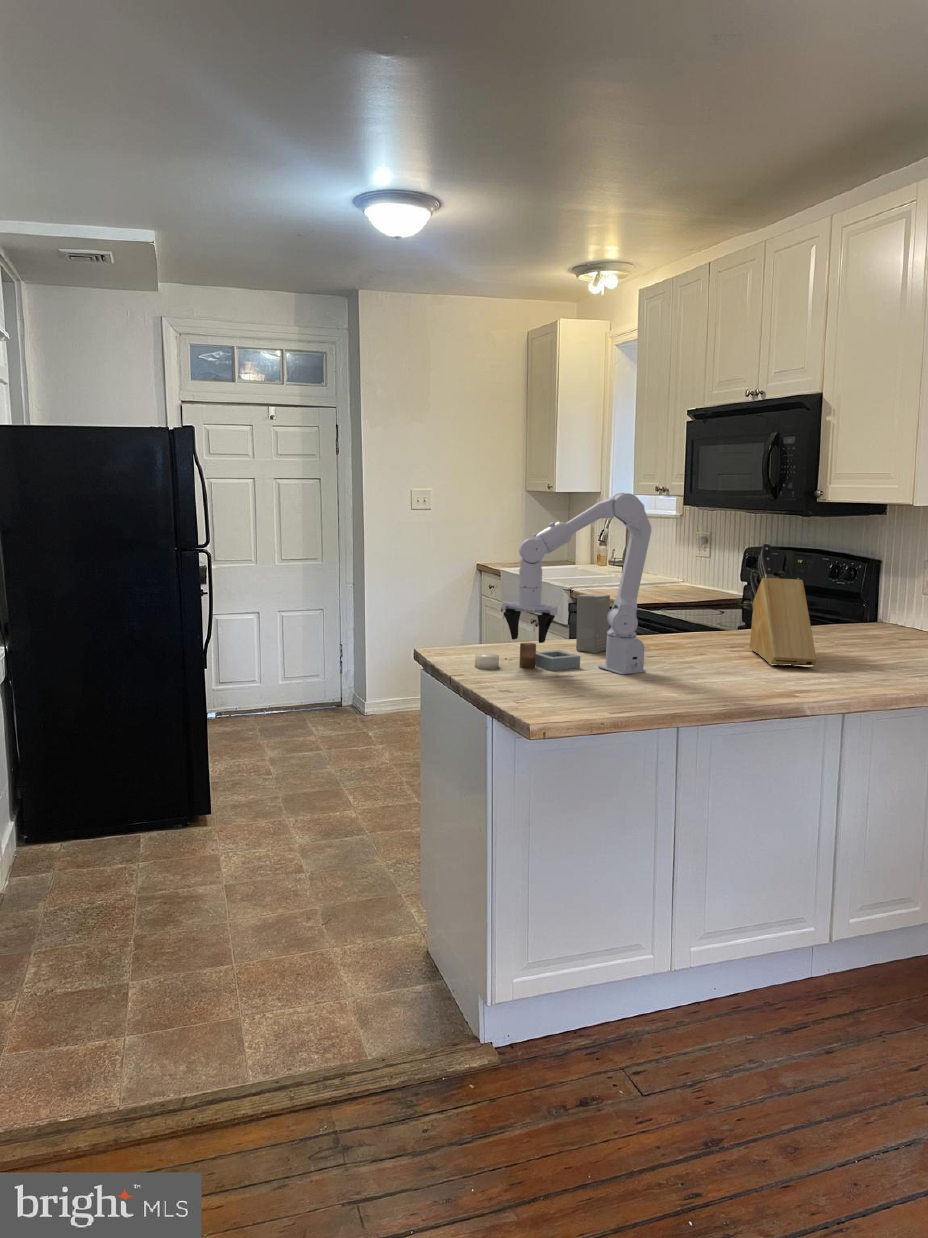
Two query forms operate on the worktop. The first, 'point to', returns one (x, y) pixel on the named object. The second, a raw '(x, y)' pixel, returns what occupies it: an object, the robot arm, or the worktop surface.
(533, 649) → the walnut dowel
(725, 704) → the worktop surface
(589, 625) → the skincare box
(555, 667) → the socket board
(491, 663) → the ivory rounded cylinder
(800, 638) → the knife block
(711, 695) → the worktop surface
